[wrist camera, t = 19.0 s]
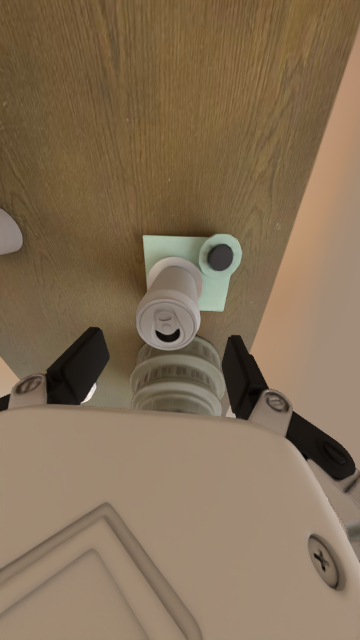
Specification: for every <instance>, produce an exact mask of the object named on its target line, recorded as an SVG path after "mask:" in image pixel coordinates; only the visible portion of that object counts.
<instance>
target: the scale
mask: <svg viewBox="0 0 360 640" xmlns="http://www.w3.org/2000/svg"><path fill="white" fill-rule="evenodd" d="M143 245H144V257H145V269H146V281H147V277H148V274H149V272H150V270H151V268H152V267H153V266H154V265H155V264H156V263H157V262H158V261H160V260H161V259H163V258H166V257H171V256H177V257H182V258H185V259H187V260H189V261H191V262H192V263H193V264H194V265H195V266H196V267H197V268H198V270H199V271H200V273H201V276H202V280H203V290H202V294H201V296H200V298H199V300H198V305H199V310H202V311H223V310H224V305H225V300H226V295H227V290H228V285H229V280H230V275H231V274H232V273H233V272H234V271H235V270H236V268H237V267H238V266H239V265H240V260H241V256H242V251H241V247H240V244H239V242H238V239H236V238H234V237H232V236H231V235H229V234H214V235H212V236H211V237H187V236H160V235H143ZM217 246H225V247H227V248H229V249H230V250H231V251H232V253H233V261H232V264H231V265H230V266H229V268H227V269H226V270H223V271H216V270H214V269H213V268H212V267H211V265H210V263H209V254H210V252H211V251H212V250H213V249H214V248H215V247H217ZM147 291H148V289H147Z"/></svg>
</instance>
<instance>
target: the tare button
mask: <svg viewBox="0 0 360 640" xmlns="http://www.w3.org/2000/svg"><path fill="white" fill-rule="evenodd" d="M232 261H233V253H232V251H231V250H230V249H229V248H227V247H225V246H217V247H215V248H214V249H213V250H212V251H211V252H210V254H209V263H210V265H211V267H212V268H213V269H214V270H216V271H223V270H226V269H227V268H229V266H230V265H231V264H232Z"/></svg>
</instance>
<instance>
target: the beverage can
mask: <svg viewBox="0 0 360 640" xmlns="http://www.w3.org/2000/svg"><path fill="white" fill-rule="evenodd" d="M136 326H137V330H138V333H139V335H140V336H141V338H142V339H143V340H144V341H145V342H146V343H148V344H149V345H151V346H152V347H155V348H157V349H161V350H177V349H180V348H183V347H185V346H186V345H188V344H189V343H190V342H191V341H192V340H193V339H194V337H195V335H196V332H197V331H198V329H199V326H200V311H199V305H198V298H197V292H196V285H195V281H194V279H193V277H192V275H191V274H190V273H189V272H188V271H186V270H185V269H183V268H180V267H169V268H166V269H164V270H163V271H161V272H160V273H159V275H158V276H157V277H156V279H155V280H154V282H153V284H152V285H151V287H150V288H149V290H148V291H147V293H146V294H145V296H144V297H143V299H142V300H141V302H140V303H139V305H138V308H137V311H136Z"/></svg>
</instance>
